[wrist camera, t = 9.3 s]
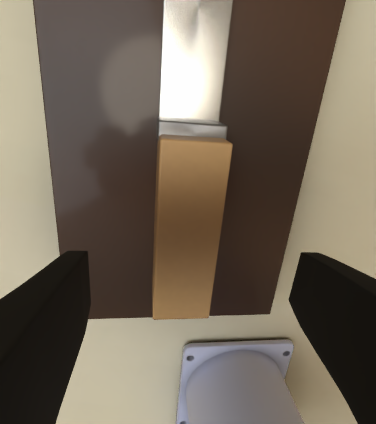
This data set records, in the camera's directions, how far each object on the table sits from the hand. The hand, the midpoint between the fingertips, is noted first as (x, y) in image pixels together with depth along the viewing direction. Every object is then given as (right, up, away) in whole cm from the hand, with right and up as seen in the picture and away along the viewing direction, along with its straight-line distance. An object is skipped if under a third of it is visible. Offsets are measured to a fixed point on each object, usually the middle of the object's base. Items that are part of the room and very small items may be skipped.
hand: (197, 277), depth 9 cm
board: (-1, +6, +4) cm, 8 cm away
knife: (0, +7, +3) cm, 7 cm away
